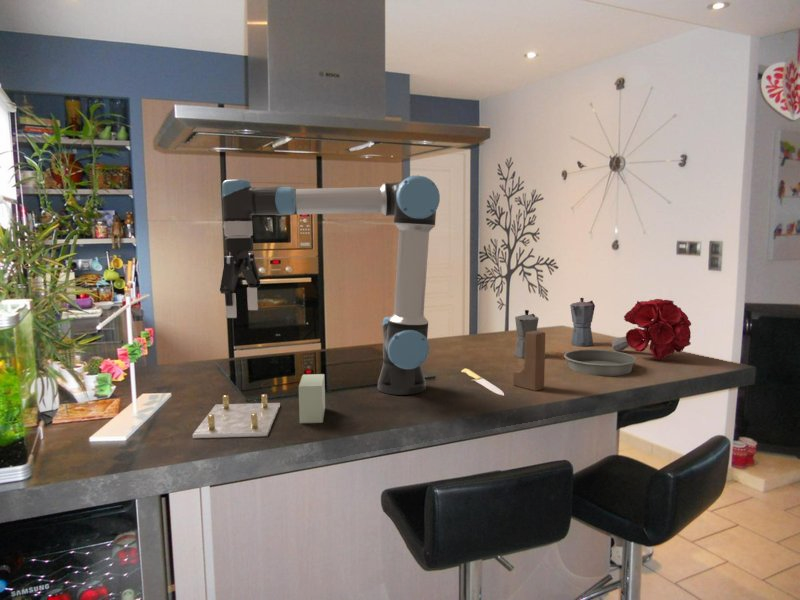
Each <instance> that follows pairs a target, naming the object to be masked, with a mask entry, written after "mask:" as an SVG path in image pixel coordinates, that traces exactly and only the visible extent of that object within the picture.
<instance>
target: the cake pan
mask: <svg viewBox="0 0 800 600" xmlns="http://www.w3.org/2000/svg"><path fill="white" fill-rule="evenodd" d="M563 357H564V359H566V360H567V361H566V362H567V365H568V368H569V369H570V370H573V371H575V372H577V373H580V374H581V373H582V374H585V375H593V376H604V377H605V376H607V377H608V376H611V377H612V376H623V375H627V374H630V373H631V372H632V371H633V367H634V364H635V363H636V362H637V361H638V358H637V357H636V356H635V355H632V354H629V353H625V352H623V351H620V352H617V351H615V350H608V349H595V348H594V349H590V348H589V349H587V348H586V349H576V350H571V351H567V352H565V353H564V354H563Z"/></svg>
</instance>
